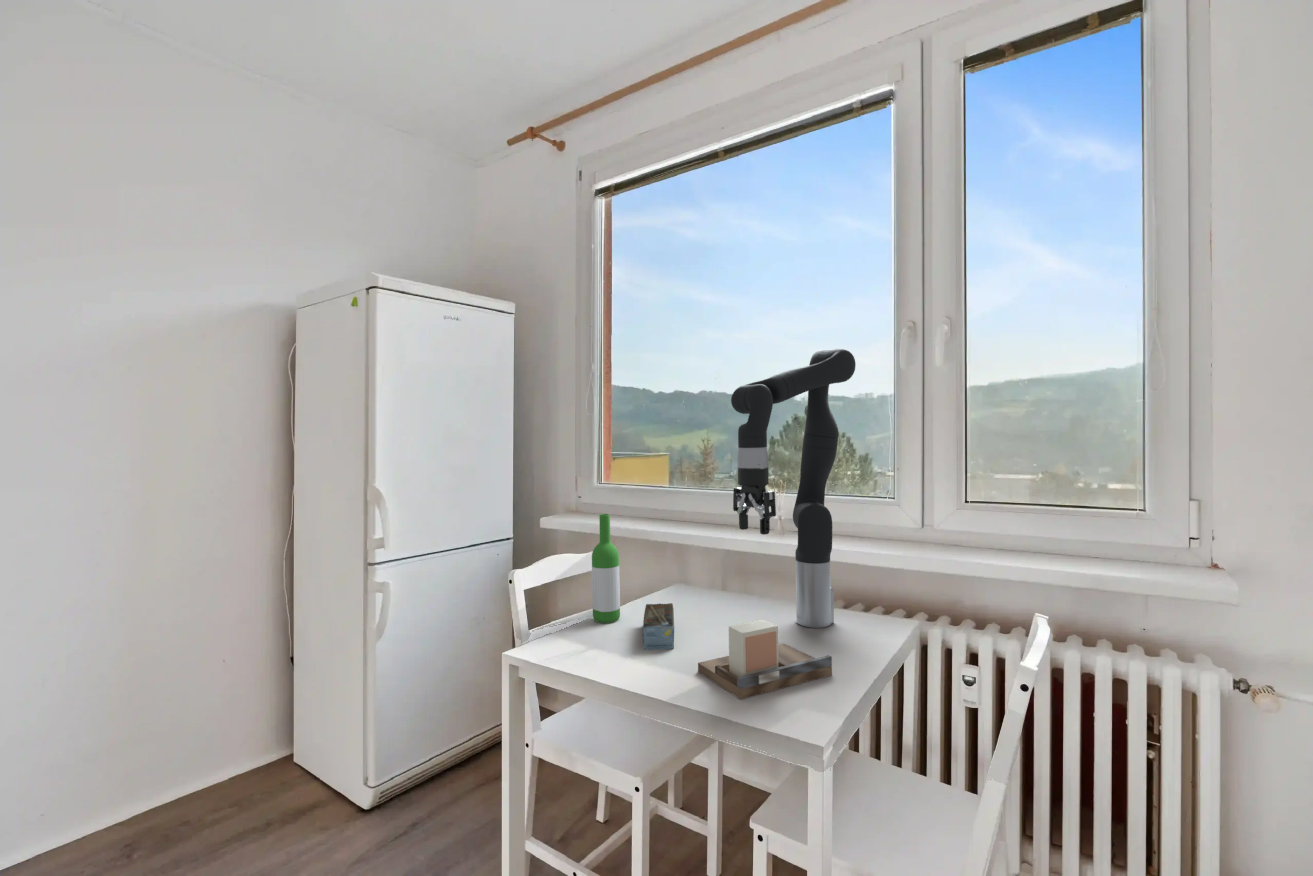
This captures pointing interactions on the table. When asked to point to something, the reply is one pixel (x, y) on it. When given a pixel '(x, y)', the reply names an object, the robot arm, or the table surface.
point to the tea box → (753, 647)
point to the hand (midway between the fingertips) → (754, 531)
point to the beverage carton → (658, 626)
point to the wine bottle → (605, 576)
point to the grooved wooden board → (768, 673)
